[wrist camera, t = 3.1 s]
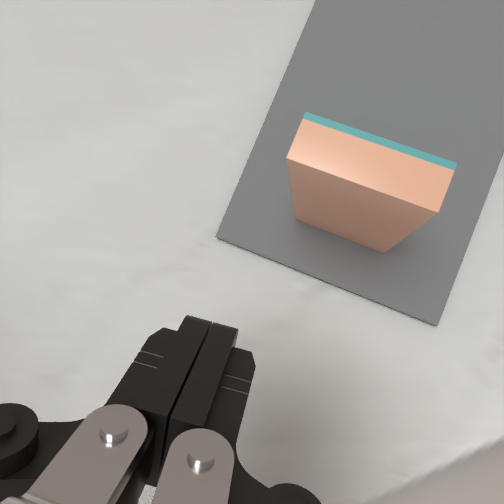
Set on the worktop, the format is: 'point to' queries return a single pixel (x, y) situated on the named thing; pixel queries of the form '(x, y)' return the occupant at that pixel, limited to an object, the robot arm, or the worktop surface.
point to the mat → (386, 126)
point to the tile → (363, 183)
